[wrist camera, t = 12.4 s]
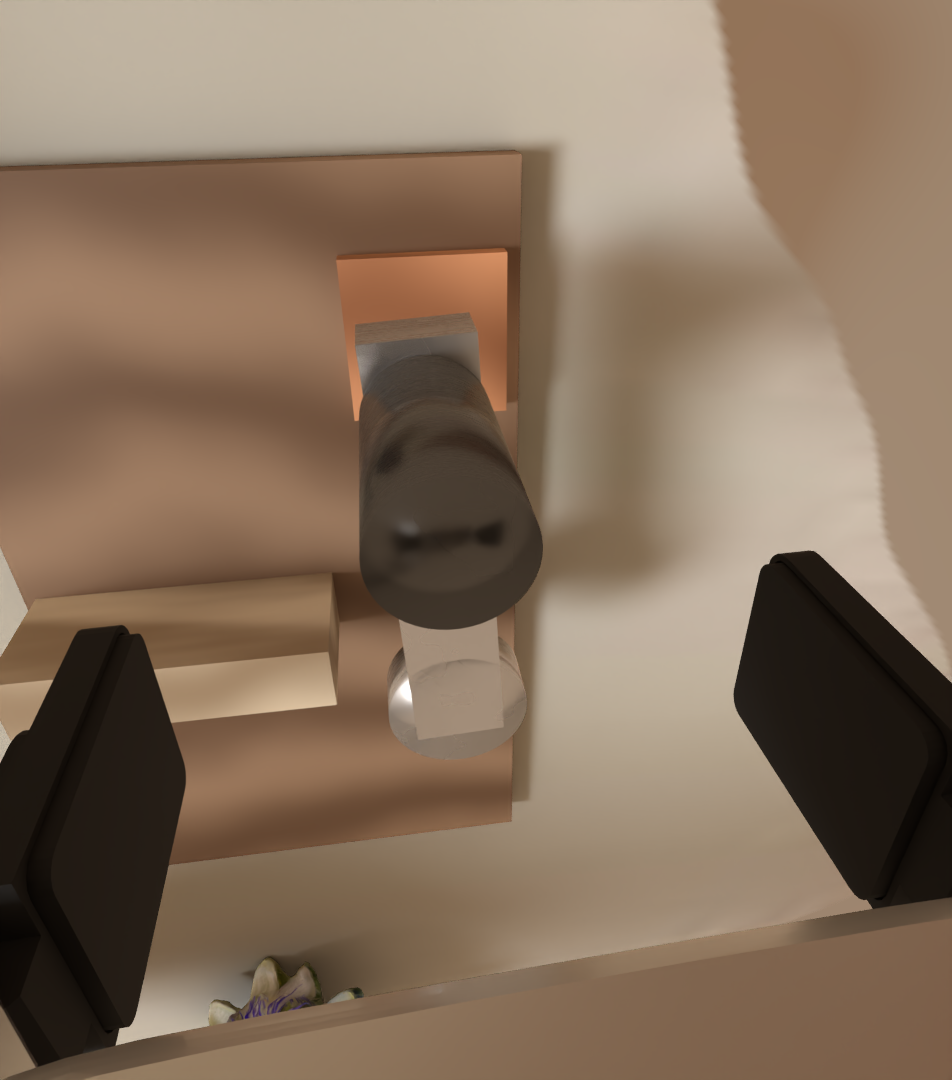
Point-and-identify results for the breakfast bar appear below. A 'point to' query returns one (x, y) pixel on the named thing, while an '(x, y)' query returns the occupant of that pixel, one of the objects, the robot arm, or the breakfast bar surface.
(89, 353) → the jamb plate
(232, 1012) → the passion flower
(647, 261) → the breakfast bar surface
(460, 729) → the crank handle
